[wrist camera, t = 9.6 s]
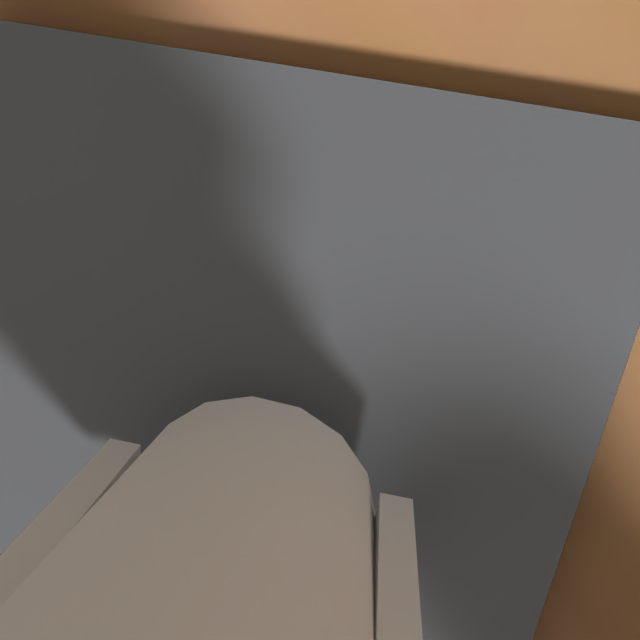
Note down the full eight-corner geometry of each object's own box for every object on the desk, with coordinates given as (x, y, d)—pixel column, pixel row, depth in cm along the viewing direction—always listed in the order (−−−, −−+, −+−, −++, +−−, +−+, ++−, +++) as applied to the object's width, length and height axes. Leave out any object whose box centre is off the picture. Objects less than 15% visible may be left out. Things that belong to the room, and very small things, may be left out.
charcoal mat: (474, 773, 19) (477, 799, 18) (4, 666, 20) (-11, 687, 19) (686, 132, 13) (706, 131, 12) (-2, 22, 14) (-25, 15, 13)
